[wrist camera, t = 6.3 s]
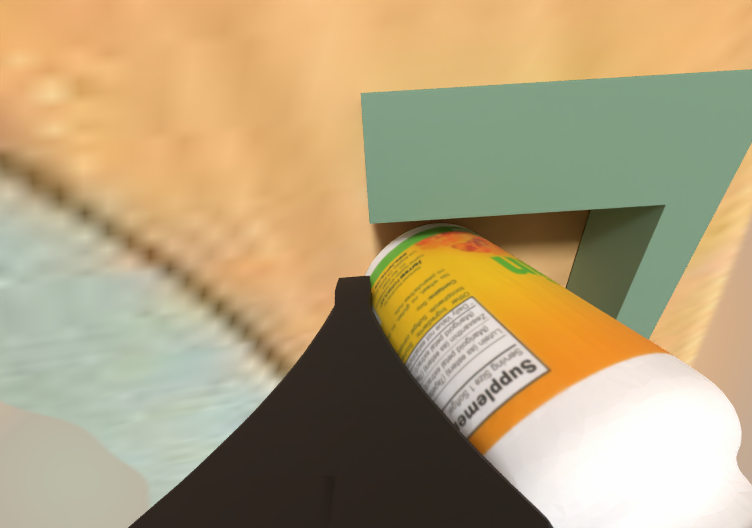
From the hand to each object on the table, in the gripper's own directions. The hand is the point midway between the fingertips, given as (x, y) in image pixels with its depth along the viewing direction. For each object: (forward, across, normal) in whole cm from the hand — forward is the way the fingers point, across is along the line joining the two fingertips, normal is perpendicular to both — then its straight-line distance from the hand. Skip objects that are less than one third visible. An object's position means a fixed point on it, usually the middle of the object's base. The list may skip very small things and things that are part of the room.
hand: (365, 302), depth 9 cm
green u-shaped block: (+2, -4, +2) cm, 5 cm away
